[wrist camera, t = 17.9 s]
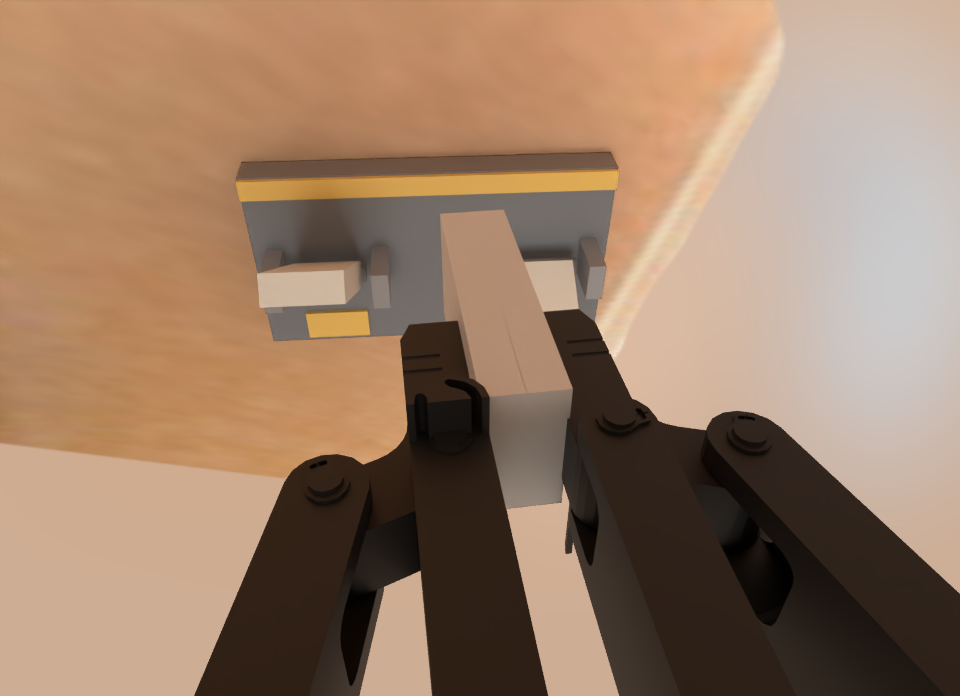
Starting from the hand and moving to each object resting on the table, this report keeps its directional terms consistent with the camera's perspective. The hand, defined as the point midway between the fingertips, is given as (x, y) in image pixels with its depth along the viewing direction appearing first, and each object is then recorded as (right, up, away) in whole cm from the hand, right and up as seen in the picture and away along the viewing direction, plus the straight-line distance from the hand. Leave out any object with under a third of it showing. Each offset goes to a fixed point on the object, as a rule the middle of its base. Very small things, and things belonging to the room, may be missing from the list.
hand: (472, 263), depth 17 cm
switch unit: (-3, +5, +29) cm, 29 cm away
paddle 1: (-9, +2, +26) cm, 28 cm away
